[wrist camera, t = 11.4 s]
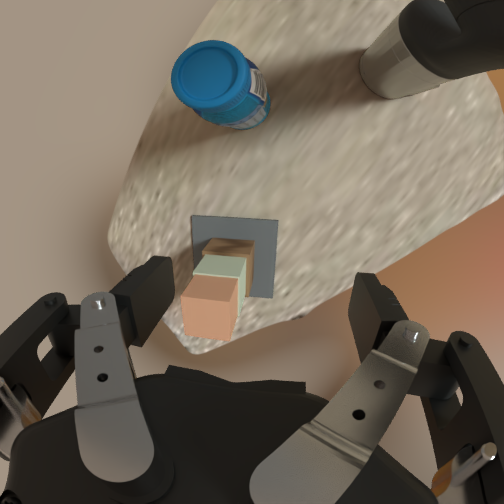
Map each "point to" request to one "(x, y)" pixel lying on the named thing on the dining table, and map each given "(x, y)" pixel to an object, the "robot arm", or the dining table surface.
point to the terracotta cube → (210, 307)
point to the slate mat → (244, 230)
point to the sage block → (225, 271)
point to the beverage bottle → (221, 85)
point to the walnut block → (234, 254)
